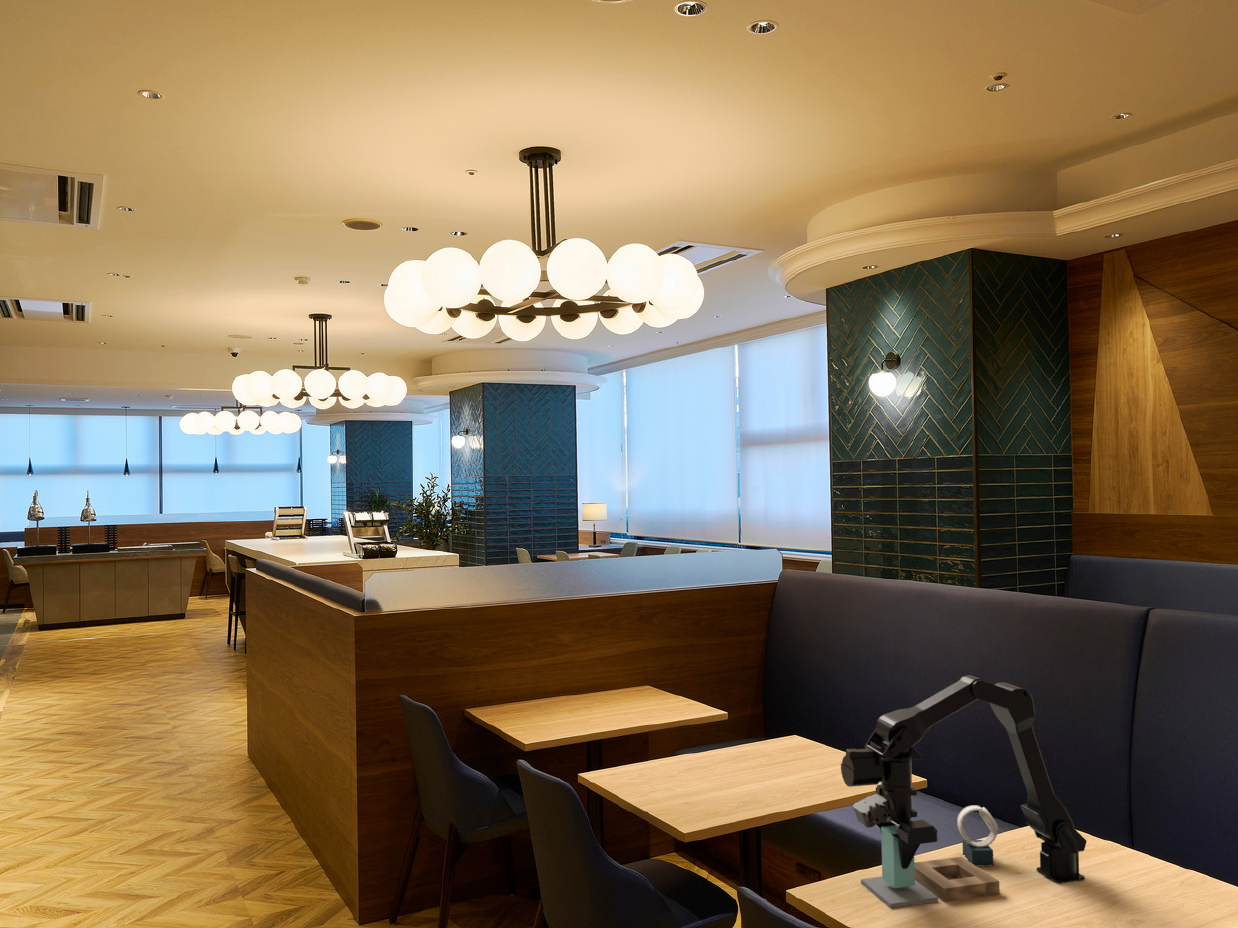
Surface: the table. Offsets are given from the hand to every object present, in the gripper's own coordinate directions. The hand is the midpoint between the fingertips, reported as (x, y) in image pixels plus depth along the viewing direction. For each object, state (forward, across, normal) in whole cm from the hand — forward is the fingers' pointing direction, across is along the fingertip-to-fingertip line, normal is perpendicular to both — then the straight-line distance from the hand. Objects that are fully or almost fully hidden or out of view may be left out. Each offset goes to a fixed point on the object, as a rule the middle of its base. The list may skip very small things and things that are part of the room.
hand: (898, 863), depth 177 cm
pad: (+6, 0, 0) cm, 6 cm away
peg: (+4, 0, 0) cm, 4 cm away
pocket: (+6, 0, +12) cm, 13 cm away
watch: (+6, -9, +24) cm, 26 cm away
